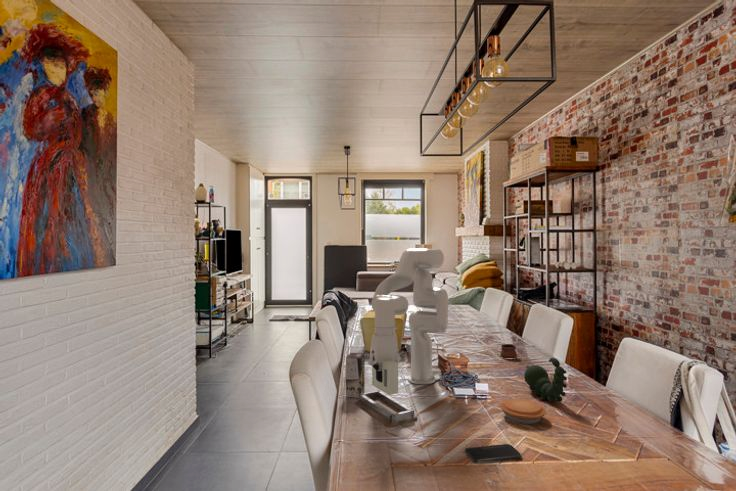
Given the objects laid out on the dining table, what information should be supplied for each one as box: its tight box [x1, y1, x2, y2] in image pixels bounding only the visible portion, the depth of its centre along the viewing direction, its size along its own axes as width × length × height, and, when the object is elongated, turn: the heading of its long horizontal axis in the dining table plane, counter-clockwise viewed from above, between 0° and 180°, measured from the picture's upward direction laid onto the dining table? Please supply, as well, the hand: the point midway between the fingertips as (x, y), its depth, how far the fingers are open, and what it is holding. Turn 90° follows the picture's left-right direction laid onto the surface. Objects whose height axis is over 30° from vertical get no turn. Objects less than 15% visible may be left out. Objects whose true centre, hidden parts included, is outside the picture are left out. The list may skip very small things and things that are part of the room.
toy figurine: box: [523, 357, 568, 403], centre depth 171 cm, size 9×19×25 cm
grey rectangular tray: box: [355, 389, 418, 428], centre depth 156 cm, size 12×24×4 cm, turn 29°
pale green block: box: [371, 360, 399, 396], centre depth 156 cm, size 4×12×11 cm, turn 29°
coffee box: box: [345, 352, 366, 399], centre depth 175 cm, size 9×6×16 cm
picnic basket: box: [359, 309, 408, 353], centre depth 252 cm, size 29×26×30 cm
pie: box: [499, 398, 547, 425], centre depth 150 cm, size 15×16×5 cm
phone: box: [464, 443, 523, 464], centre depth 124 cm, size 8×1×15 cm
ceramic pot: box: [499, 343, 518, 359], centre depth 229 cm, size 18×18×7 cm
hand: (384, 379), depth 156 cm, fingers closed on pale green block, 4 cm apart
